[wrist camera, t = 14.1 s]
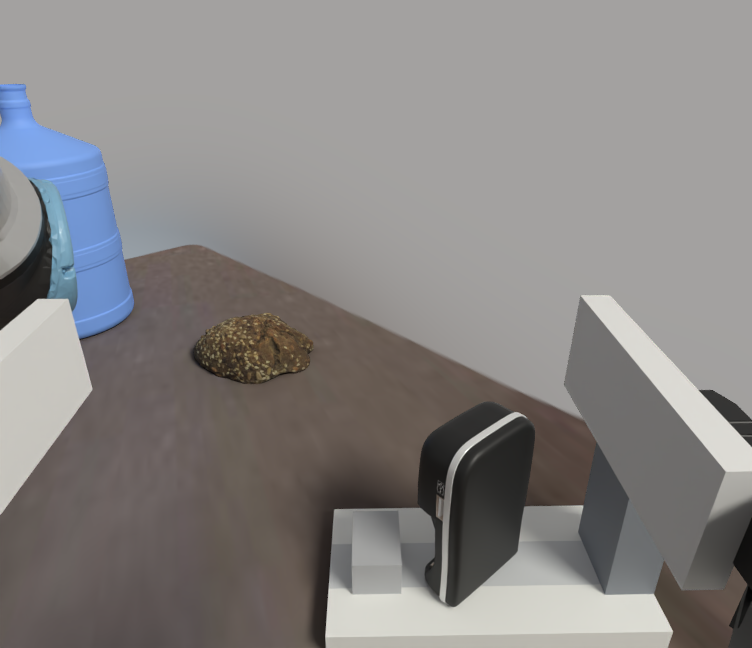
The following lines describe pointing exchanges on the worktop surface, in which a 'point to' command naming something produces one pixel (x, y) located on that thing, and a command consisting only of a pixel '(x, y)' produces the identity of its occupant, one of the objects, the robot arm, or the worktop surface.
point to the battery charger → (474, 495)
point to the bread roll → (253, 349)
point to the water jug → (73, 208)
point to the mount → (502, 580)
